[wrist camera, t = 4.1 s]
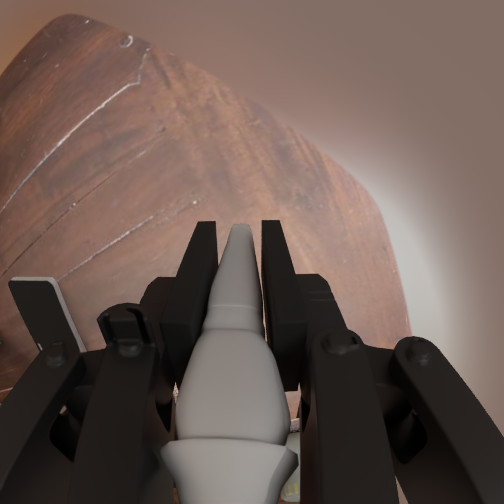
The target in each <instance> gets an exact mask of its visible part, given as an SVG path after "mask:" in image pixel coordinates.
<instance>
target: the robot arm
mask: <svg viewBox="0 0 504 504" xmlns="http://www.w3.org/2000/svg"><path fill="white" fill-rule="evenodd" d="M217 270H218V252H217V237H216V221H202V222H198V223H197V225H196V228H195V230H194V232H193V235H192V237H191V240H190V242H189V244H188V247H187V249H186V252H185V254H184V257H183V259H182V262H181V264H180V267H179V269H178V272H177V275H176V277H157V278H156V279H155V280H154V281H152V282H151V283H150V284H149V285H148V286H147V288H146V290H145V293H144V296H143V297H142V299H141V301H140V304H139V305H138V304H135V303H123V304H117V305H115V306H112V307H109V308H108V309H106V310H105V311H104V312H102V313H101V314H100V316H99V317H98V318H97V322H98V324H99V327H100V330H101V332H102V335H103V337H104V340H105V342H106V344H107V346H106V348H105V349H101V350H95V351H88V352H81V353H80V351H79V349H78V347H77V346H76V344H75V343H73V342H72V341H70V340H59V341H54V342H53V343H51V344H49V345H47V346H46V347H45V348H44V349H43V350H42V351H41V352H40V353H39V354H38V356H37V357H36V358H35V359H34V361H33V362H32V363H31V365H30V366H29V367H28V368H27V370H26V371H25V372H24V374H23V375H22V376H21V378H20V379H19V380H18V382H17V383H16V384H15V386H14V387H13V389H12V390H11V391H10V393H9V394H8V396H7V397H6V398H5V400H4V401H3V403H2V404H1V406H0V504H173V478H172V476H171V475H170V473H169V472H168V470H167V468H166V467H165V465H164V463H163V462H162V459H161V455H160V449H161V448H162V447H163V446H164V445H166V444H167V443H168V442H170V441H174V434H175V406H176V403H175V398H174V395H173V390H174V385H175V381H176V385H177V388H178V391H179V389H180V386H181V383H182V380H183V377H184V374H185V372H186V369H187V366H188V363H189V360H190V358H191V355H192V352H193V350H194V347H195V345H196V342H197V341H198V339H199V337H200V336H201V328H202V325H203V322H204V320H205V317H206V314H207V305H208V300H209V295H210V290H211V286H212V283H213V281H214V278H215V275H216V273H217ZM261 278H262V289H263V300H264V312H265V323H266V335H267V344H268V347H269V348H270V349H271V351H272V353H273V355H274V358H275V361H276V364H277V367H278V371H279V374H280V378H281V381H282V384H283V388H284V392H288V391H298V385H299V384H300V389H301V398H300V403H299V408H298V412H297V417H296V418H299V420H300V504H399V498H398V491H397V484H396V478H397V480H398V482H399V484H400V486H401V488H402V491H403V493H404V495H405V497H406V499H407V501H408V504H504V437H503V436H502V434H501V432H500V431H499V430H498V428H497V427H496V425H495V424H494V422H493V421H492V419H491V418H490V416H489V415H488V413H487V412H486V411H485V409H484V408H483V406H482V405H481V404H480V402H479V401H478V399H477V398H476V397H475V395H474V394H473V393H472V391H471V390H470V389H469V387H468V386H467V385H466V383H465V382H464V381H463V379H462V378H461V377H460V375H459V374H458V373H457V372H456V370H455V369H454V368H453V367H452V365H451V364H450V363H449V362H448V360H447V359H446V358H445V356H444V355H443V354H442V353H441V351H440V350H439V349H438V348H437V347H436V346H435V345H434V344H433V343H432V342H430V341H428V340H426V339H424V338H420V337H415V336H412V337H405V338H403V339H401V340H400V341H399V342H398V343H397V345H396V346H395V348H394V350H393V349H385V348H377V347H372V346H368V345H365V344H364V343H363V341H362V340H361V338H360V336H358V335H357V334H356V333H355V332H353V331H351V330H349V329H347V327H346V324H345V322H344V319H343V317H342V314H341V312H340V310H339V307H338V305H337V303H336V301H335V298H334V296H333V293H331V289H330V286H329V284H328V282H327V281H326V280H325V279H324V278H323V277H321V276H320V275H319V274H295V271H294V267H293V264H292V260H291V257H290V253H289V250H288V247H287V243H286V240H285V237H284V233H283V230H282V227H281V223H280V220H262V249H261ZM64 406H65V407H66V410H65V411H64V412H63V413H60V411H61V410H62V408H63V407H64ZM395 476H396V478H395Z"/></svg>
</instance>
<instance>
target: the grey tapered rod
mask: <svg viewBox="0 0 504 504" xmlns="http://www.w3.org/2000/svg"><path fill="white" fill-rule="evenodd" d="M175 425H176V434H177V438H178V441H170V442H168V443H167V444H166V445H164V446H163V447H162V448H161V449H160V455H161V459H162V462H163V463H164V465H165V467H166V468H167V470H168V472H169V473H170V475H171V476H172V478H173V480H174V482H175V484H176V488H177V494H178V498H179V501H180V503H181V504H278V501H279V497H280V494H281V491H282V488H283V487H284V485H285V483H286V482H287V481H288V479H289V478H290V477H291V475H292V474H293V473H294V471H295V470H296V469H297V467H298V466H299V462H298V454H297V453H295V452H293V451H292V450H290V449H289V448H287V447H285V445H286V443H287V438H288V435H289V431H290V425H291V421H290V412H289V407H288V403H287V399H286V396H285V392H284V388H283V384H282V381H281V378H280V374H279V371H278V367H277V364H276V361H275V358H274V355H273V353H272V351H271V349H270V348H269V347H268V344H267V342H266V341H265V327H264V324H263V298H262V291H261V284H260V278H259V272H258V267H257V261H256V255H255V249H254V242H253V235H252V230H251V228H250V225H248V224H234V225H233V227H232V228H231V231H230V234H229V237H228V241H227V244H226V247H225V249H224V252H223V255H222V258H221V261H220V264H219V267H218V270H217V273H216V275H215V278H214V281H213V283H212V286H211V290H210V295H209V300H208V305H207V314H206V317H205V320H204V322H203V325H202V328H201V336H200V337H199V339H198V341H197V342H196V345H195V347H194V350H193V352H192V355H191V358H190V360H189V363H188V366H187V369H186V372H185V374H184V377H183V380H182V383H181V386H180V389H179V393H178V397H177V402H176V406H175Z"/></svg>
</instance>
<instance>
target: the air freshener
mask: <svg viewBox="0 0 504 504" xmlns="http://www.w3.org/2000/svg"><path fill="white" fill-rule="evenodd" d="M285 447H287V448H289V449H290V450H292V451H293V452H295V453H297V454H298V462H299V466H298V467H297V469H296V470H295V471H294V473H293V474H292V475H291V477H290V478H289V479H288V481H287V482H286V483H285V485H284V487H283V488H282V491H281V498H282V499H283V500H285V501H291V502H296V501H300V432H294V433H289V435H288V438H287V443H286V445H285Z"/></svg>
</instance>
